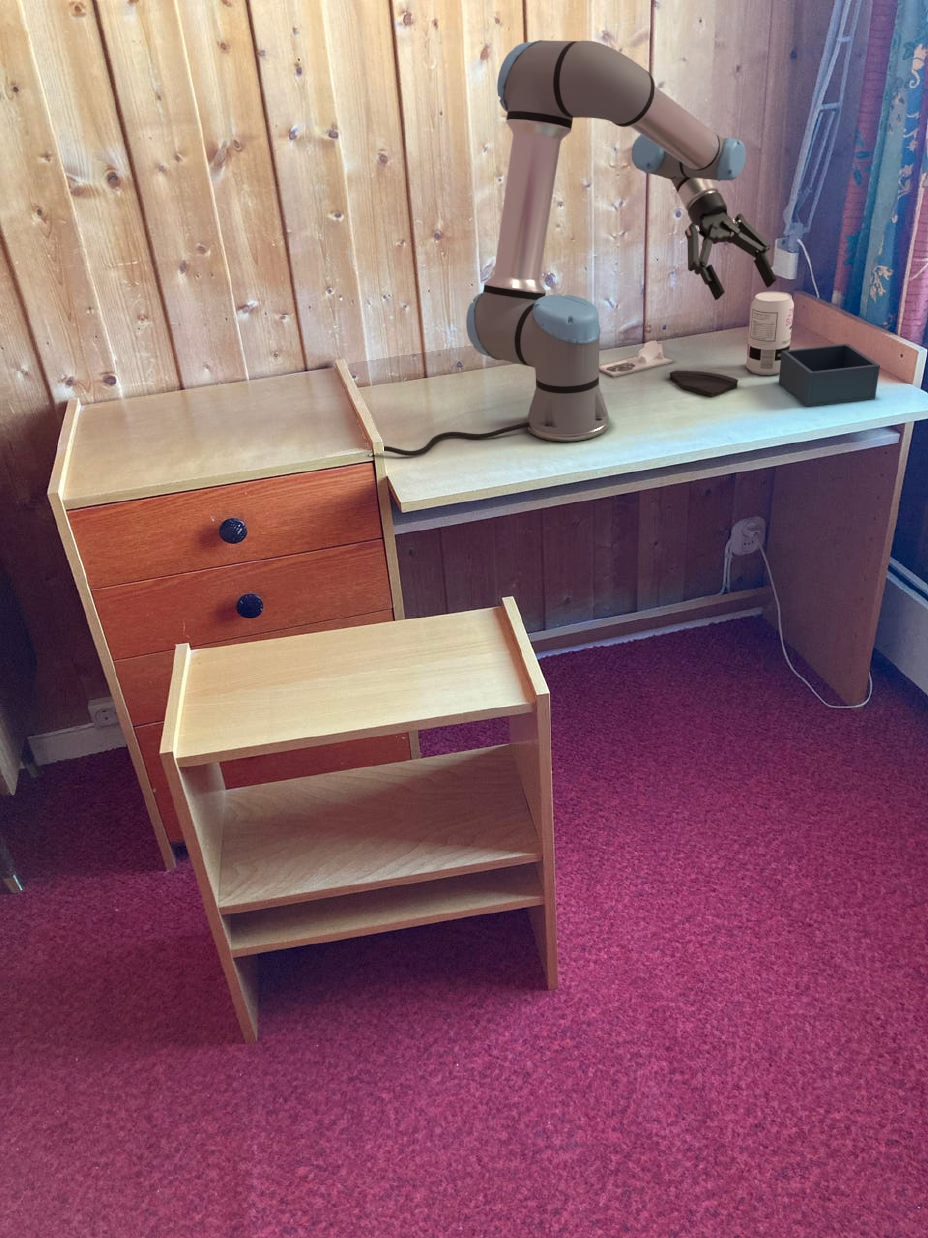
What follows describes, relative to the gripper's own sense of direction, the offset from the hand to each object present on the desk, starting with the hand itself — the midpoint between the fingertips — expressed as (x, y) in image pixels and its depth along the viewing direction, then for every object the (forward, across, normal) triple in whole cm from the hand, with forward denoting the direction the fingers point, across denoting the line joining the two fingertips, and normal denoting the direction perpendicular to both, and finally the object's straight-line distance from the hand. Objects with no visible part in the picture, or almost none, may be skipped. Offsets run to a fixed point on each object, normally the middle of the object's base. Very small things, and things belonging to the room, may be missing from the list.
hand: (746, 289), depth 214 cm
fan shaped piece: (+16, +16, -5) cm, 23 cm away
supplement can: (+16, 0, -5) cm, 17 cm away
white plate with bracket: (+3, +20, -18) cm, 27 cm away
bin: (+27, 0, +7) cm, 28 cm away
